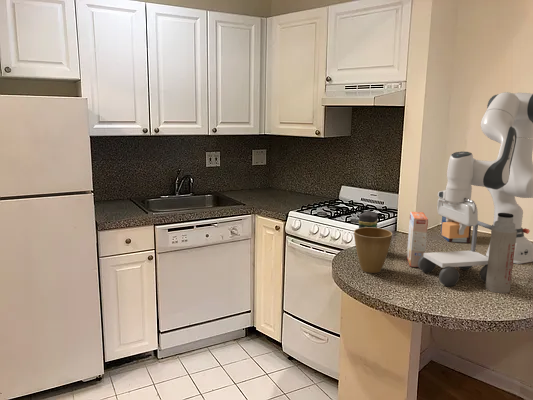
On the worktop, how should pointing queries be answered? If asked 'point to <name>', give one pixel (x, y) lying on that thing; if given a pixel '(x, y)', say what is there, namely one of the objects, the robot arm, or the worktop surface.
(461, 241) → the protein box
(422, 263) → the cart
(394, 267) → the worktop surface
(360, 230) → the plant pot
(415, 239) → the cracker box
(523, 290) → the worktop surface
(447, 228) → the block
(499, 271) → the thermos bottle
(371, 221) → the coffee jar
